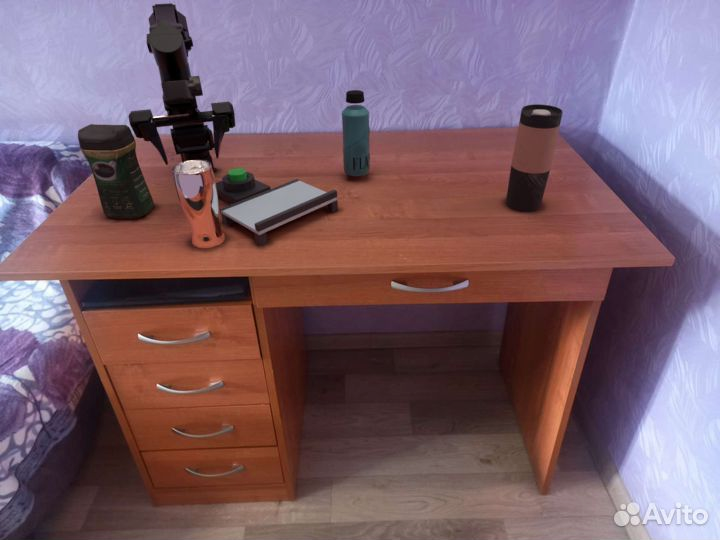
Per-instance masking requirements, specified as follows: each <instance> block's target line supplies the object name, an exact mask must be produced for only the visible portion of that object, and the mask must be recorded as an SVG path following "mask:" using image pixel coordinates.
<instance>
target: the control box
mask: <svg viewBox="0 0 720 540" xmlns="http://www.w3.org/2000/svg"><path fill="white" fill-rule="evenodd" d="M246 173H247V179H246V180H244V181H239V182H231V181H229V177H228V173H227V174H225V175H224V176H223V177H221V180H219V181H216V185H217V190H218V199H221V200H222V201H225V202H227V203H229V205H231V204H234V203H236V202H239V201H241V200H244V199H247V198H249V197H252V196H254V195H257V194H260V193H262V192H265V191H267V190H270V189H272V188H271V186H270V185H268V184H266V183H263V182H262V181H259V180H257V179H255V176H254V173H252V172H250V171H246Z"/></svg>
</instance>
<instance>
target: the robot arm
mask: <svg viewBox="0 0 720 540" xmlns="http://www.w3.org/2000/svg"><path fill="white" fill-rule="evenodd" d="M151 9H152V13H151V14H150V16H149V17H148V24H149V28H148V32H149V33H146V46H147V50H148V53H149V54H151V55H153V59H154V61H155V64H156V65H157V67H158V68H157V69H158V73H159V78H160V82H161V83H160V86H161V90H162V103H163V107H164V110H165V112H166V115H157V116H156V115H155V116H154V114H153V113H152V110H151V109H150V108H149V109H140V110H139V109H138V110H131V111H130V112H129V114H128V123H129V125H130V128H131V130H132V133H134V134H133V135H135V136H134V137H135V138H138V139H143V141H144V142H150V143H151V145H153V146H154V148H155V149H156V150H157V152H158V153H159V154H158V155H160V157H161V159H162V161H163V162H164V164H165V166H168V165H169V161H168V156H167V153H166V151H165V147H164V144H163V142H162V139H161V136H160V133H159V131H158V128H165V127H172V128H170V130H169V131H170V136H171V141H172V144H173V148H174V152H175V155H180V157H181V162H184V161H188V160H206V161H208V162H210V163H211V166H212V170H213V173H214V174H215V172H217V171H218V168H217V167H215V166H214V161H213V156H212V155H211V153H210V152H211V151H213V149H214V154H215V158H216V159H219V157H220V152H221V146H222V142H223V139H224V136H225V133H228V132H230V131H231V130H230V129H234V128H235V127H236V116H235V114H236V113H235V109H234V105H233V103H231V102H230V101H221V102H220V101H219V102H211V103H210V106H211V110H205V111H200V109H199V106H198V103H197V97H202V96H203V95H204V92H203V88H202V81H201V78H200V75H192V72H191V68H190V63H189V61H188V60H189V58H188V57H189V52H191V51H192V49H193V48H192V47H194V43H193V37H192V36H190V32H189V25H188V22H187V17H186V16H185V15H184V14H182V13H181V12H180V11H179V10H177V6H176V4H173V3H171V2H170V3H155V4H154V5H151ZM211 122H212V129H213V130H212V129H210V127H209V126H208V124H205V123H211Z"/></svg>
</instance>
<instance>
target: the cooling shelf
mask: <svg viewBox="0 0 720 540" xmlns="http://www.w3.org/2000/svg"><path fill="white" fill-rule="evenodd" d="M338 203H339V202H338V191H337V190H336V189H332V190H329V191H324V190H322V189H320V188H318V187H315V186H313V185H311V184H309V183H307V182H304V181H301V180H300V179H298V178H296V179H293V180H290V181H288V182H286V183H283V184H280V185H278V186H275V187H273V188H271V189H270V190H267V191H265V192H262V193H260V194H257V195H254V196H252V197H249V198H247V199H244V200H241V201H239V202H236V203H234V204H229V205H226V206H224V207H221V208H219V214H220V215H221V219H222V224H223V225H226V226H230V225H232V224H234V223H235V222H236V223H237V224H239V225H241V226H243V227H244V228H246V229H248V230H250V231H251V232H253V234H254V239H255V244H256V245H258V246H260V247H262V246H264V245H266V244H268V237H267V232H269V231H272V230H274V229H276V228H278V227H280V226H283V225H285V224H287V223H289V222H291V221H294V220H297V219H298V218H301V217H302V216H305V215H307V214H309V213H311V212H314V211H316V210H318V209H321V208H323V207H325V206H326V207H327V211H328V212H330V213H332V214H333V213H335V212H337V211H338V210H339V205H338Z"/></svg>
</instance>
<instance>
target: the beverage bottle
mask: <svg viewBox="0 0 720 540" xmlns="http://www.w3.org/2000/svg"><path fill="white" fill-rule="evenodd" d="M345 102H346V103H347V104H350V105H347V106H345V108H343V110H342V111H341V123H342V124H341V125H342V156H343V159H342V160H343V172H344V173H345V175H348V176H351V177H361V176H365V175H368V174H369V173H370V168H371V154H370V150H371V148H370V142H371V141H370V122H371V121H370V110H369V109H367V107H366V106H365V105H361V104H362V103H364V102H365V93H364V91H363V90H360V89H351V90H348V91H346V93H345Z"/></svg>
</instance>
